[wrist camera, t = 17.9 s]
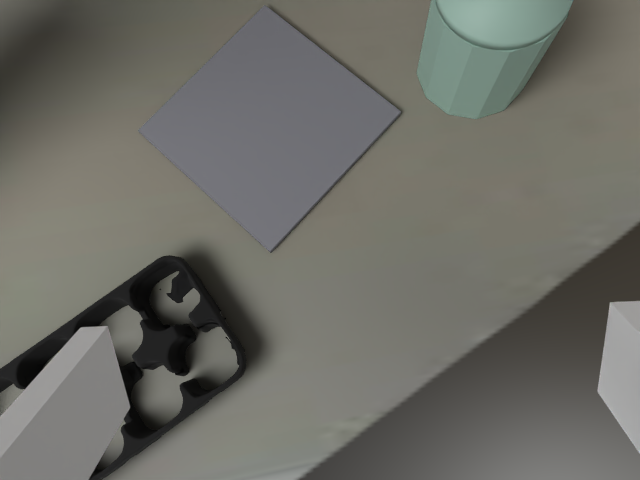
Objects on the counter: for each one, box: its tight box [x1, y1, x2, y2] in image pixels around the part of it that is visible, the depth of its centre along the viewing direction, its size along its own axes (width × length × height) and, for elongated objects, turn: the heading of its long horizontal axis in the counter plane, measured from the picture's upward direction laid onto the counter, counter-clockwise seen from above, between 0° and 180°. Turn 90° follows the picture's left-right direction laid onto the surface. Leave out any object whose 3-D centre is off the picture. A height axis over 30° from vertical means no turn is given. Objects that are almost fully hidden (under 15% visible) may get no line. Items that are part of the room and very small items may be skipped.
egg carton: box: [0, 256, 246, 480], centre depth 44 cm, size 18×30×4 cm, turn 137°
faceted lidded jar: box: [417, 0, 573, 119], centre depth 44 cm, size 10×10×12 cm
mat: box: [138, 5, 401, 253], centre depth 50 cm, size 18×18×1 cm
